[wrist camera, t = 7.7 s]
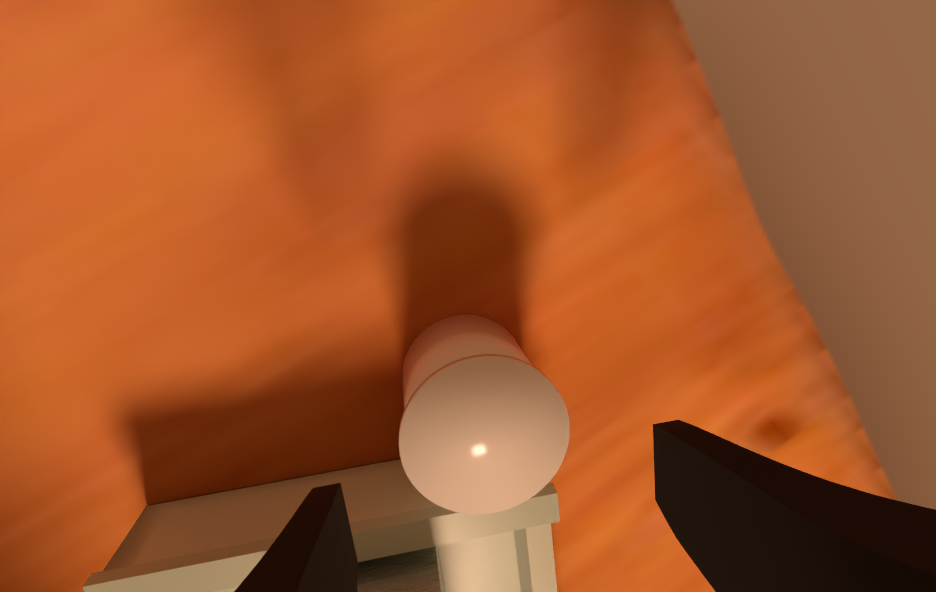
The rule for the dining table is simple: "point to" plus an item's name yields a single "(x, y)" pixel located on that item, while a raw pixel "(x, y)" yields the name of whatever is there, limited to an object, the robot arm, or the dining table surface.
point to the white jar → (478, 418)
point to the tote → (372, 525)
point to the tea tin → (402, 573)
